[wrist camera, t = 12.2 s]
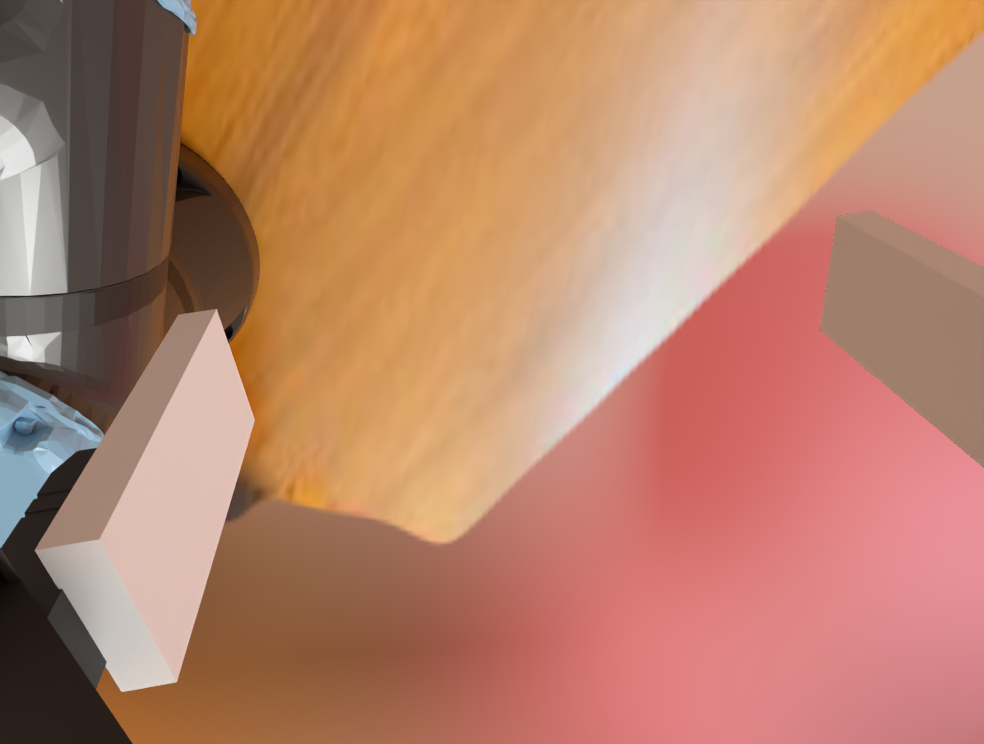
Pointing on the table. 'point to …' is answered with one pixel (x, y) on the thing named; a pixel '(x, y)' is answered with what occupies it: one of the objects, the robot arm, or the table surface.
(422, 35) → the table surface
